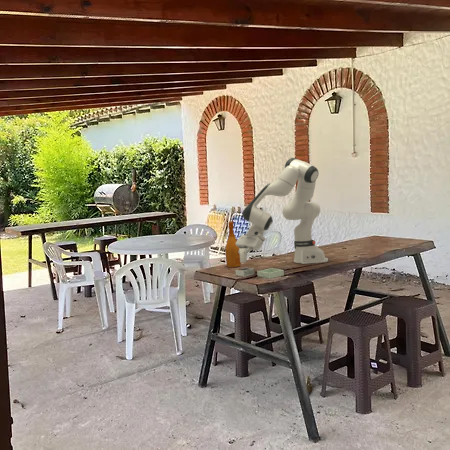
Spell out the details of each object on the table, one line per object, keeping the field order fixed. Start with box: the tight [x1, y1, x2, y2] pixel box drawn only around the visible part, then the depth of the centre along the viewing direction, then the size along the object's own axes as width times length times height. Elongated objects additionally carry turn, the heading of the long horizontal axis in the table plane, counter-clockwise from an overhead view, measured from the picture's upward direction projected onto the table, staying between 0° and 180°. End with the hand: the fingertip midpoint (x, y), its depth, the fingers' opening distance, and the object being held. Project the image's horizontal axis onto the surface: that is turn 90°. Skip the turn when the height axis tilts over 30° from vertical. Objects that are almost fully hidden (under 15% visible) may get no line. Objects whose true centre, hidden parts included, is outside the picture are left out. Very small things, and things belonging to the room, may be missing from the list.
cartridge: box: [239, 245, 248, 264], centre depth 307 cm, size 4×4×10 cm
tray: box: [256, 267, 285, 279], centre depth 300 cm, size 11×11×3 cm
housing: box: [235, 266, 255, 278], centre depth 308 cm, size 8×8×4 cm
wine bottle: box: [224, 221, 242, 268], centre depth 337 cm, size 10×10×30 cm
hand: (242, 253), depth 307 cm, fingers closed on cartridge, 4 cm apart
